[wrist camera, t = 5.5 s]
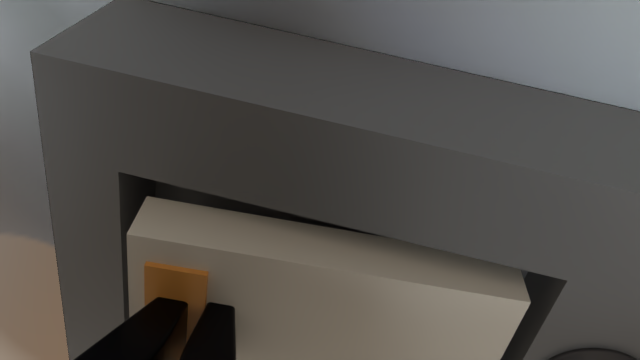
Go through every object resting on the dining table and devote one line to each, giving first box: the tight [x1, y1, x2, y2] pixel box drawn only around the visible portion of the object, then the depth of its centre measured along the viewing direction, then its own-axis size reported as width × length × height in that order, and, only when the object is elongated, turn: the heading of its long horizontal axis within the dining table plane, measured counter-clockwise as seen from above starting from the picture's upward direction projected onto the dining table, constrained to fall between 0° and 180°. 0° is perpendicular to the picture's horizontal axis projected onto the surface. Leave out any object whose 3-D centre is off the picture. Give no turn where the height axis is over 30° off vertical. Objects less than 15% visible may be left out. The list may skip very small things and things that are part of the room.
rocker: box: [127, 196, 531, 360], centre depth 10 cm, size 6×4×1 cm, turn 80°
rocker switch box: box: [30, 0, 640, 360], centre depth 11 cm, size 20×8×3 cm, turn 80°
